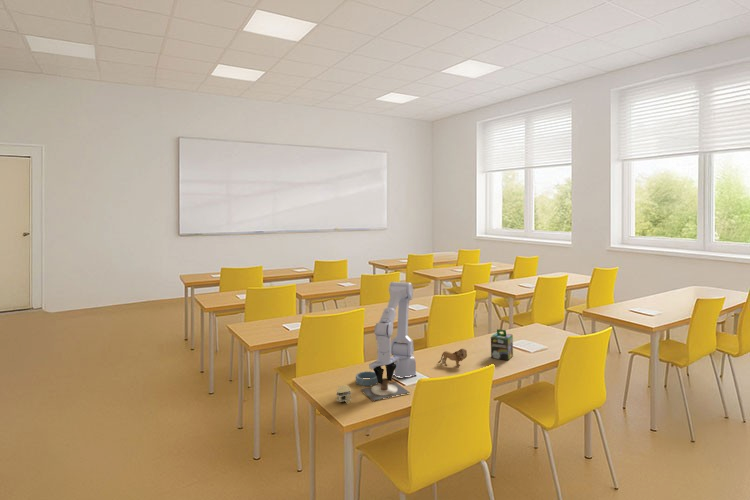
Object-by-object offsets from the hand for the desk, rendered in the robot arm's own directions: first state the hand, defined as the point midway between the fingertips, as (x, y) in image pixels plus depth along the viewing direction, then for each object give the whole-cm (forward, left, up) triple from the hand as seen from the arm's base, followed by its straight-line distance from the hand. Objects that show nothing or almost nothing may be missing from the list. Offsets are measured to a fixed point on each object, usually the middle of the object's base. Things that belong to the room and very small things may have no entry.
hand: (384, 381), depth 194 cm
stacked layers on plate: (+19, +1, -5) cm, 20 cm away
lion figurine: (-45, -14, -5) cm, 47 cm away
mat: (0, 0, -4) cm, 4 cm away
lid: (0, 0, -4) cm, 4 cm away
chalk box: (-74, -13, -5) cm, 75 cm away
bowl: (+2, -14, -4) cm, 15 cm away
